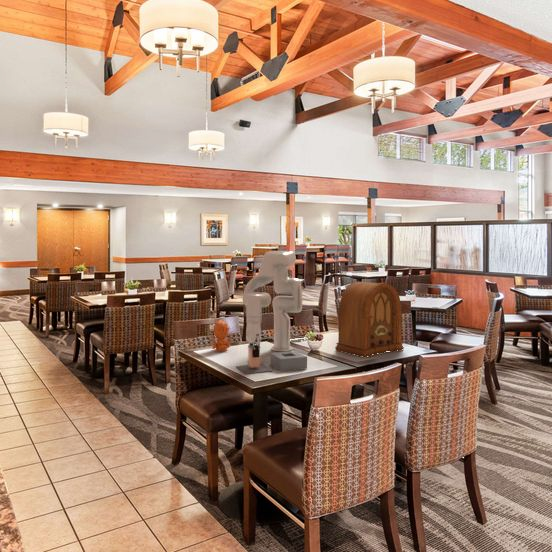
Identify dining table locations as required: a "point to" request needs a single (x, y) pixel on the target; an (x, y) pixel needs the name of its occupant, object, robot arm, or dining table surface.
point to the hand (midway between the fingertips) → (254, 355)
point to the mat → (254, 369)
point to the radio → (369, 319)
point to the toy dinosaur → (221, 336)
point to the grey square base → (288, 360)
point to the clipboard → (290, 338)
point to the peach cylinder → (253, 360)
